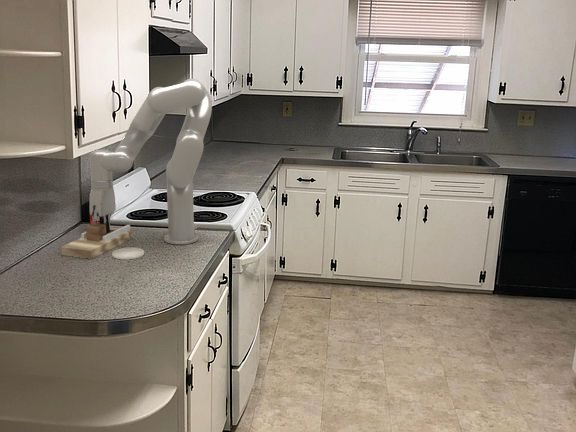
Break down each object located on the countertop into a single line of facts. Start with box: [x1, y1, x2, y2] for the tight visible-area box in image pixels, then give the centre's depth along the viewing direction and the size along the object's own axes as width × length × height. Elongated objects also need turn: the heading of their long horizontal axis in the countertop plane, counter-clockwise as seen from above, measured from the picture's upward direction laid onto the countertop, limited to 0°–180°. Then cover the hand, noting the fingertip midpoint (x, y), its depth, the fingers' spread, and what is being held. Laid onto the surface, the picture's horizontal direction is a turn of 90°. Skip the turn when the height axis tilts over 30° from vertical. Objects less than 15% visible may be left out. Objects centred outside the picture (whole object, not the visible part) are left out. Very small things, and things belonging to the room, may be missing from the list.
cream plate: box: [111, 246, 145, 261], centre depth 227 cm, size 11×11×1 cm
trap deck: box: [61, 221, 134, 260], centre depth 235 cm, size 26×12×5 cm, turn 160°
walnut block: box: [85, 223, 107, 242], centre depth 234 cm, size 5×5×5 cm
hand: (105, 232), depth 239 cm, fingers closed
